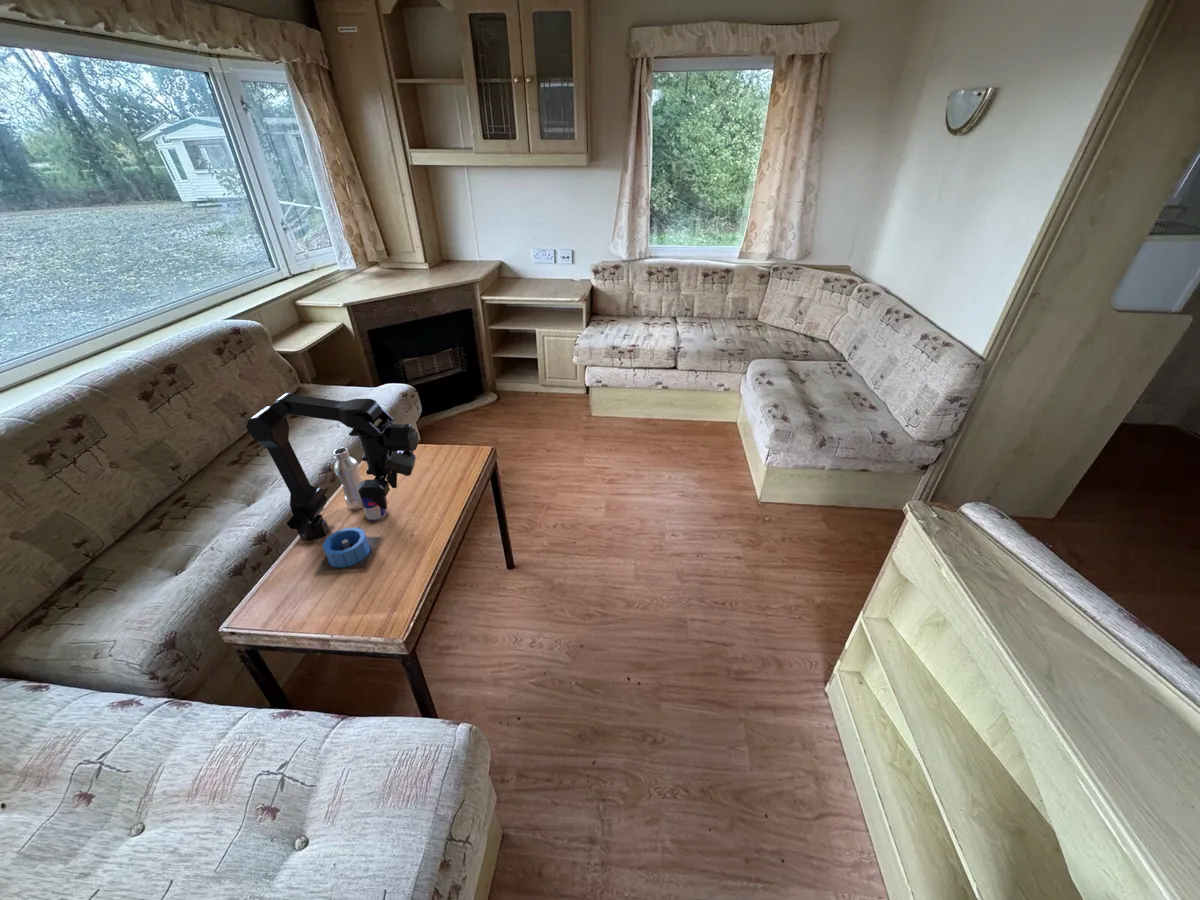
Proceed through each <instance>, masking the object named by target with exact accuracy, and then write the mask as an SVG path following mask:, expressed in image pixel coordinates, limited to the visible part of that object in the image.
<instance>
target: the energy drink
mask: <svg viewBox="0 0 1200 900" xmlns="http://www.w3.org/2000/svg"><path fill="white" fill-rule="evenodd" d="M365 480H366V479H364V480H362V482H360V483H359V484H358V485H357V492H358V490H359V488H360V486H361V485H362V483H363V482H364V481H365ZM358 495H359V493H358ZM359 498H360V500H361V503H362V506H363V508H362V509H363V512H364V515H365V517H366V519H367V520H368V521H370V522H375V521H379V520H381V519H383V518H384V517H385V516H386V514H387V511H386V509H382V508H380V507H379V506H378V505H377V504H376V503H374V502H373V501H372V500H370V499H369V498H361V497H360V496H359Z"/></svg>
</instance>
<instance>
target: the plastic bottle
mask: <svg viewBox="0 0 1200 900" xmlns="http://www.w3.org/2000/svg"><path fill="white" fill-rule="evenodd" d="M333 455H334V459H335V462H334V465H333V470H334V473H335V474H336V476H337V478H338V480H339V483H340V485H341V486H342V489H343V493H344V499H345V505H346V506H347V507H348V509H351V510H352V511H353V510H357V511H358V510H361V509H363V506H362V503H361V500H360V498H359V495H358V492H357V485H358V484H359V483H360V482H362V481H363V480H362V477H361V473H360V466H359V462H358V461H357V459H356V458H354V457H353V456H351V455H350V452H349V449H348V448H347V447H339V448H336V449H335V450H333Z"/></svg>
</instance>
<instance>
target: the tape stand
mask: <svg viewBox="0 0 1200 900" xmlns="http://www.w3.org/2000/svg"><path fill="white" fill-rule="evenodd" d="M379 539H380V536H376V537H375V536H374V537H367V540H368V543H369V546H370V551H369V553H368V555H367V556H366V557H365V558H364V559H363V560H361V561H360V562H358V563H357V564H354V565H351V566H349V567H340V568H337V567H334V566H332V565H330V564H329V562H328V559H327V557H326V556H325V557H324V559H323V561H322V563H321V564H320V566H319V568H318V570H317V573H319V572H333V571H351V570H364V569H366V567H367V565H368V563H369V561H370V558H371V556H372V554H373V553H374V550H375V547H376V546H377V543H378V541H379ZM342 545H343V547H342V548H341V549H339V550H345V549H348V548H350V547H352V546H353V545H355V544H349V541H348V540H347V539H345V540H343V541H342Z"/></svg>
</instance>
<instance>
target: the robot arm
mask: <svg viewBox="0 0 1200 900" xmlns="http://www.w3.org/2000/svg"><path fill="white" fill-rule="evenodd" d="M289 415H291V416H299V417H305V418H306V417H307V418H313V419H320V420H327V421H335V422H339V423H341V424H342V425H344V426H345V427H348V428H350V429H352V430H351V431H350V432H349V433H348V436H349V437H358V438H359V442H360V445H361V448H362V451H363V455H362V456H361V460H362V462H366V465H367V469H366V471H365V473H366V476H367V475H368V476H369V475H370V476H371V475H372V476H373V477H374V478H373V479H372V478H371V479H364V480H365V481H364V480H363V481H364V482H363V483H362V485H361V486H360V488H359V490H358V493H359V496H360V497H361V498H369V499H370V500H372V501H373V502H374V503H376V504H377V505H378V506H379V507H380V508H382V509H385V510H387V509H388V501H387V500H388V499H387V496H388V494H389V492H390V490H391V488H392V489H397V487H398V474H400V475H403V476H405V477H409V476H411V475H412V474H413V471H414V468H415V463H416V459H417V457H416V455H415V454H414V452H415V451H416V450H417V448H418V444H419V434H418V431H416V429H415V428H414V427H412V424H410V423H403V424H401V423H399V424H395V423H394V421H395V418H394V417H393V416H391V415H390V414H389V413H388V412H387V411H386V410H385V409H384V408H382V406H381V405H380V404H379V403H378V402H377V401H376V400H375V399H373V398H352V399H349V400H335V399H329V398H328V399H327V398H320V397H314V396H305V395H299V394H295V393H293V392H286V393H284V394H282V395H281V396H280V397H278V398H277V399H276V400H275V401H274V402H273V404H271V405H270V406H265V407H263V408H262V409H261V410H260V411H258V412H257V413H255V414H254V415H253V416H252V417H250V418H249V419H248V420H247V422H246V423H245V428H246V431H247V432H248V433H249V434H250V436H251V437H252V439H253V440H254V441H255V442H256V443H257V444H258V445H261V446H263V447H264V448H266V449H267V451H268V453H269V455H270V457H271V459H272V461H273V462H274V464H275V467H276V468H277V470H278V472H279V474H280V476H281V478H282V480H283V482H284V484H285V485H286V487H287V489H288V491H289V493H290V495H289V507H290V510H291V514H292V516H290V517H291V518H289V519H288V521H287V522H286V525H287V526H288V527H289V529H291V530H296V531H297V533H298V535H299V538H300V539H301V540H302V539H303V540H304V541H306V542H313V541H316V540H319V539H321V538H325V537H327V535H328V533H329V532H330V528H329V525H328V523H327V520H326V519H324V517H323V515H322V514H321V513H322V512H323V511H324V509H325V507H326V506H327V500H328V497H327V496H326V495H325V493H324V489H323V488H322V487H318V488H317V487H315V486H313V485H312V484H311V483H310V481H309V479H308V477H307V475H306V472H305V471H304V468H303V467H302V465H301V463H300V460H299V459H298V457H297V455H296V452H295V450H294V448H293V447H292V444H291V443H290V442H291V441H290V440H289V435H290V425H289V422H288V417H287V416H289ZM379 420H381V421H379ZM378 421H379V423H378V424H377V422H378ZM375 424H377V425H375Z"/></svg>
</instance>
